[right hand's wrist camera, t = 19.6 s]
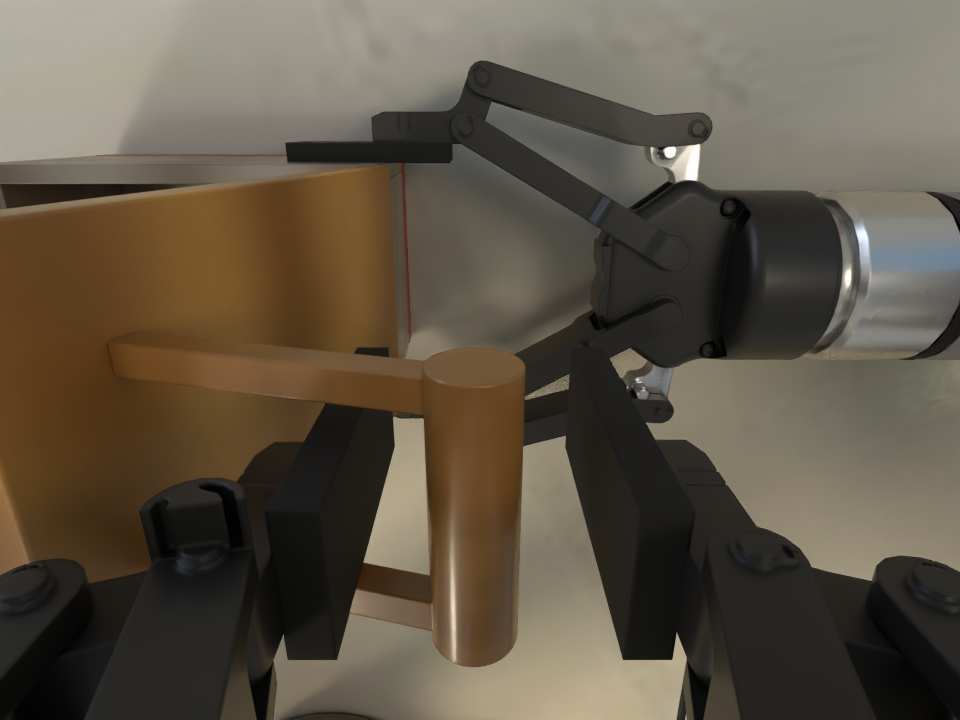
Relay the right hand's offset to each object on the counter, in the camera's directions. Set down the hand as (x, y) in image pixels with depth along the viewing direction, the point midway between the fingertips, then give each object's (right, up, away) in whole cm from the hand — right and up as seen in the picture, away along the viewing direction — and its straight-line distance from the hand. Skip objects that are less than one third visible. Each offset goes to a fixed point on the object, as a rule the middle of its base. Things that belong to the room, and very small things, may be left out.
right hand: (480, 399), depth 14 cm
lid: (-6, +1, +2) cm, 7 cm away
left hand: (-8, +5, +12) cm, 15 cm away
